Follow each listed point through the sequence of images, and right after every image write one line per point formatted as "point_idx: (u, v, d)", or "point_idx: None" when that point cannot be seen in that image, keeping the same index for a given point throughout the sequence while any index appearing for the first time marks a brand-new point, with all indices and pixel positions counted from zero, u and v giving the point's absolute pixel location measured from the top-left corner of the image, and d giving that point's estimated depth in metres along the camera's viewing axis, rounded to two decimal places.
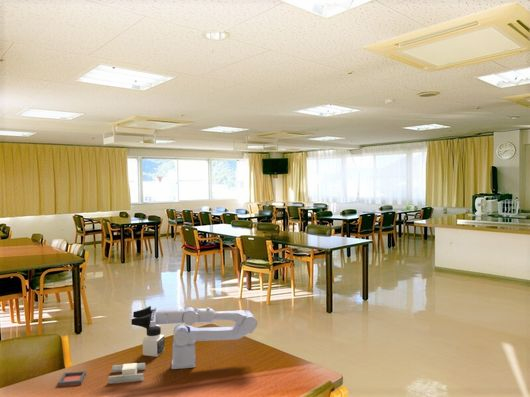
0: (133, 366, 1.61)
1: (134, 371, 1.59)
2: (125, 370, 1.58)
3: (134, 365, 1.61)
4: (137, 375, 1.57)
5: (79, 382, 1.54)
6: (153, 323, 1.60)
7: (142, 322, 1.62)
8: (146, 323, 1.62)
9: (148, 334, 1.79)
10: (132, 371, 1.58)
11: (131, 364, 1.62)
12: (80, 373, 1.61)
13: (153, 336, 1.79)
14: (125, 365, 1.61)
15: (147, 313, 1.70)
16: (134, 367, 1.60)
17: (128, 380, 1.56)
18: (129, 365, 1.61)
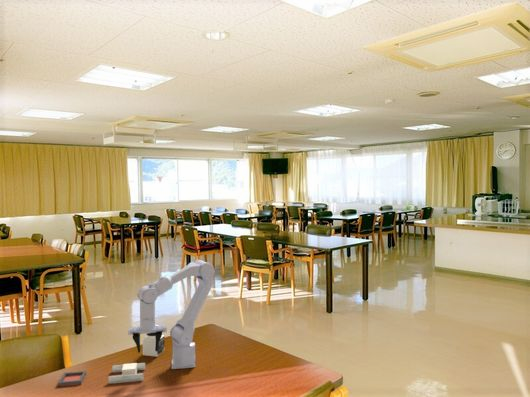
0: (133, 366, 1.61)
1: (134, 371, 1.59)
2: (125, 370, 1.58)
3: (134, 365, 1.61)
4: (137, 375, 1.57)
5: (79, 382, 1.54)
6: (166, 328, 1.62)
7: None
8: None
9: (148, 334, 1.79)
10: (132, 371, 1.58)
11: (131, 364, 1.62)
12: (80, 373, 1.61)
13: (153, 336, 1.79)
14: (125, 365, 1.61)
15: (139, 337, 1.61)
16: (134, 367, 1.60)
17: (128, 380, 1.56)
18: (129, 365, 1.61)
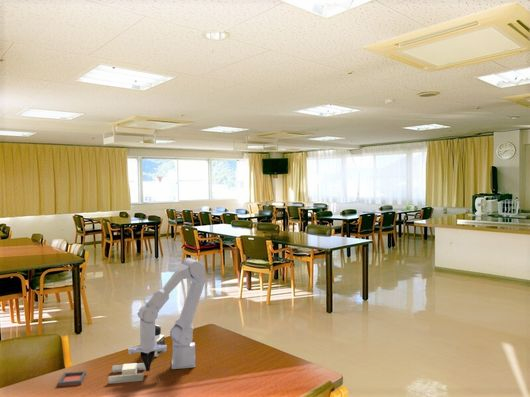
0: (133, 366, 1.61)
1: (134, 371, 1.59)
2: (125, 370, 1.58)
3: (134, 365, 1.61)
4: (137, 375, 1.57)
5: (79, 382, 1.54)
6: (166, 347, 1.63)
7: None
8: None
9: None
10: (132, 371, 1.58)
11: (131, 364, 1.62)
12: (80, 373, 1.61)
13: None
14: (125, 365, 1.61)
15: (147, 356, 1.61)
16: (134, 367, 1.60)
17: (128, 380, 1.56)
18: (129, 365, 1.61)
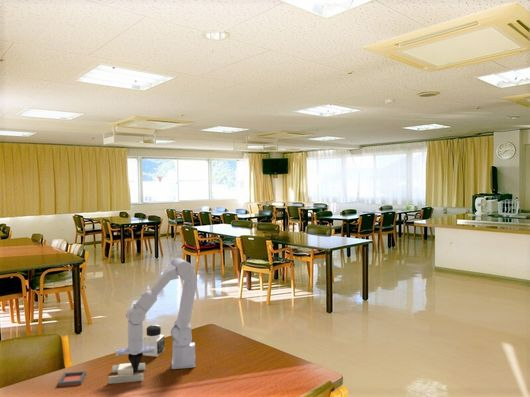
0: (129, 366, 1.60)
1: (130, 371, 1.58)
2: (121, 370, 1.58)
3: (130, 365, 1.61)
4: (137, 375, 1.57)
5: (79, 382, 1.54)
6: (154, 349, 1.62)
7: None
8: None
9: (148, 334, 1.79)
10: (128, 371, 1.58)
11: (127, 364, 1.61)
12: (80, 373, 1.61)
13: (153, 336, 1.79)
14: (121, 365, 1.61)
15: None
16: (130, 367, 1.59)
17: (128, 380, 1.56)
18: (125, 365, 1.61)
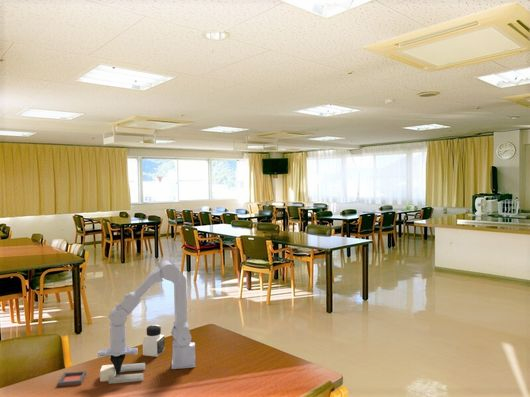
0: (111, 367, 1.59)
1: (112, 373, 1.57)
2: (103, 371, 1.56)
3: (112, 367, 1.59)
4: (137, 375, 1.57)
5: (79, 382, 1.54)
6: (137, 350, 1.61)
7: None
8: None
9: (148, 334, 1.79)
10: (110, 372, 1.57)
11: (110, 366, 1.60)
12: (80, 373, 1.61)
13: (153, 336, 1.79)
14: (103, 366, 1.60)
15: None
16: (112, 368, 1.58)
17: (128, 380, 1.56)
18: (108, 366, 1.60)
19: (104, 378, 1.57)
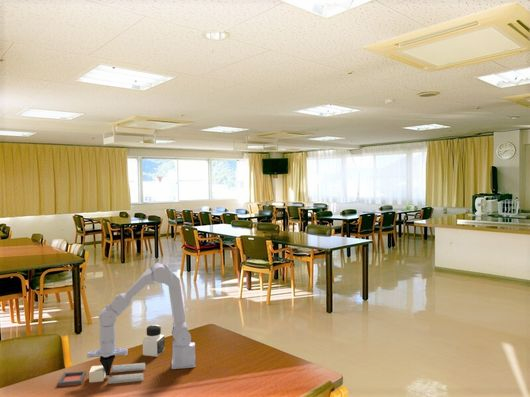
0: (101, 368, 1.58)
1: (102, 374, 1.56)
2: (92, 372, 1.56)
3: (102, 368, 1.59)
4: (137, 375, 1.57)
5: (79, 382, 1.54)
6: (127, 351, 1.60)
7: None
8: None
9: (148, 334, 1.79)
10: (100, 373, 1.56)
11: (99, 367, 1.59)
12: (80, 373, 1.61)
13: (153, 336, 1.79)
14: (93, 367, 1.59)
15: None
16: (102, 369, 1.57)
17: (128, 380, 1.56)
18: (97, 367, 1.59)
19: (94, 379, 1.56)
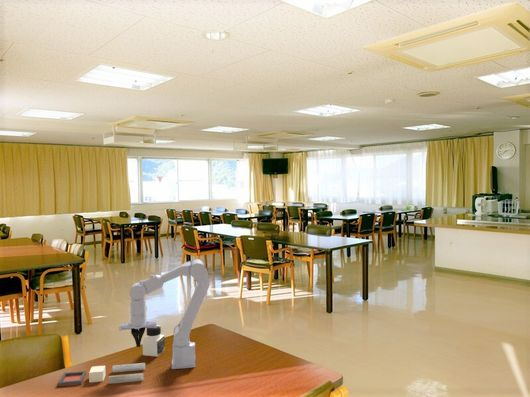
0: (101, 369, 1.58)
1: (102, 374, 1.56)
2: (92, 373, 1.56)
3: (102, 368, 1.59)
4: (137, 375, 1.57)
5: (79, 382, 1.54)
6: (156, 324, 1.67)
7: None
8: None
9: (148, 334, 1.79)
10: (100, 374, 1.56)
11: (99, 367, 1.59)
12: (80, 373, 1.61)
13: (153, 336, 1.79)
14: (93, 368, 1.59)
15: None
16: (102, 370, 1.57)
17: (128, 380, 1.56)
18: (97, 368, 1.59)
19: (94, 379, 1.56)
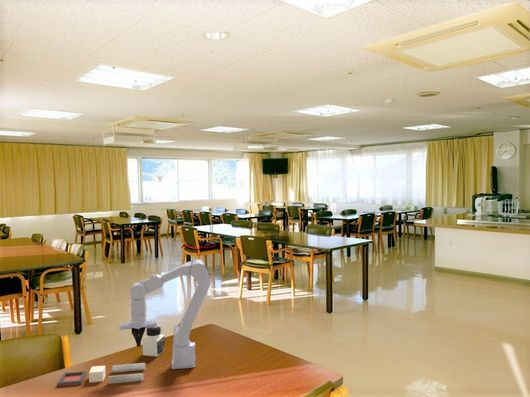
0: (101, 369, 1.58)
1: (102, 374, 1.56)
2: (92, 373, 1.56)
3: (102, 368, 1.59)
4: (137, 375, 1.57)
5: (79, 382, 1.54)
6: (156, 324, 1.68)
7: None
8: None
9: (148, 334, 1.79)
10: (100, 374, 1.56)
11: (99, 367, 1.59)
12: (80, 373, 1.61)
13: (153, 336, 1.79)
14: (93, 368, 1.59)
15: None
16: (102, 370, 1.57)
17: (128, 380, 1.56)
18: (97, 368, 1.59)
19: (94, 379, 1.56)
